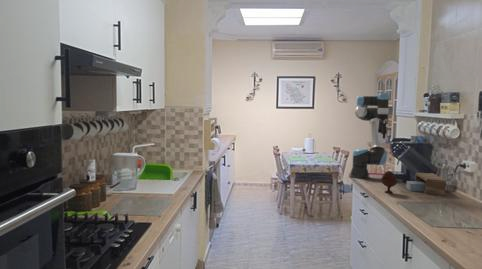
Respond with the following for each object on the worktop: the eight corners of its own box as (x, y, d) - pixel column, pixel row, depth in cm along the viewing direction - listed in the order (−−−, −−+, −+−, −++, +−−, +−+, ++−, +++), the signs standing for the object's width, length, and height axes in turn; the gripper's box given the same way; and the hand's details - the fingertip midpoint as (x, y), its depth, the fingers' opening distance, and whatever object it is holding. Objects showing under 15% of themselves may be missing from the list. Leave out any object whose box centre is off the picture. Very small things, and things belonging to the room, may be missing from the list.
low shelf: (415, 186, 277) (415, 172, 277) (432, 186, 275) (433, 173, 274) (425, 194, 252) (426, 179, 251) (445, 194, 250) (445, 180, 249)
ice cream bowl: (400, 194, 249) (401, 172, 248) (383, 194, 249) (384, 172, 248) (393, 191, 259) (394, 169, 258) (377, 190, 260) (378, 169, 259)
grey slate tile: (406, 187, 271) (406, 180, 271) (432, 189, 268) (433, 182, 268) (409, 190, 261) (410, 183, 261) (437, 192, 258) (438, 184, 258)
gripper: (391, 114, 269) (390, 143, 270) (384, 113, 293) (383, 140, 295) (380, 114, 270) (379, 143, 272) (374, 113, 295) (373, 140, 296)
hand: (381, 142), depth 283 cm, fingers open, 13 cm apart
